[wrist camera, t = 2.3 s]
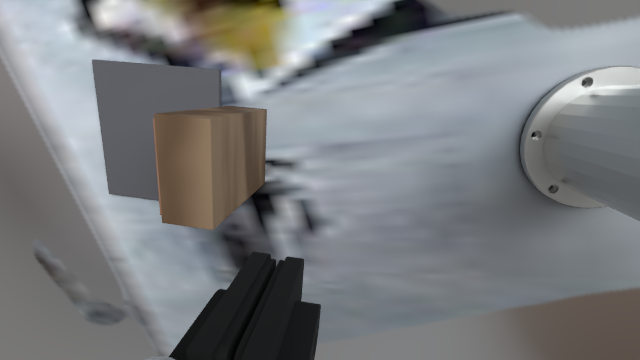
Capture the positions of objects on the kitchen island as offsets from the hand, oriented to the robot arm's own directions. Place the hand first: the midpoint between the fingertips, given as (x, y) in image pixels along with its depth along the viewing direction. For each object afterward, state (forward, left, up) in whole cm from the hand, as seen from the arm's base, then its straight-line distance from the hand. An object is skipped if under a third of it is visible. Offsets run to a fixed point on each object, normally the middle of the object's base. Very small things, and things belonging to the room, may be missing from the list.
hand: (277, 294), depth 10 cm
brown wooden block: (+10, 0, -23) cm, 25 cm away
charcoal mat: (+20, 0, -23) cm, 30 cm away
